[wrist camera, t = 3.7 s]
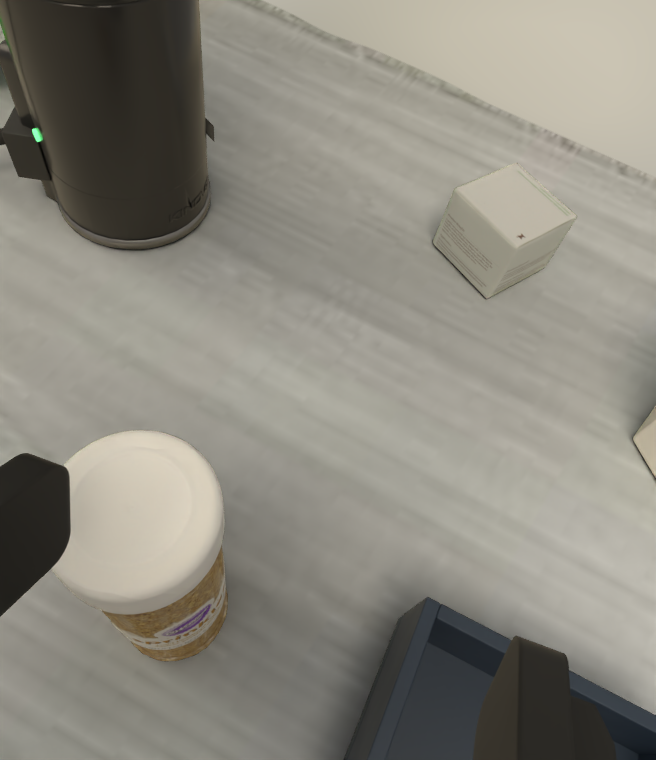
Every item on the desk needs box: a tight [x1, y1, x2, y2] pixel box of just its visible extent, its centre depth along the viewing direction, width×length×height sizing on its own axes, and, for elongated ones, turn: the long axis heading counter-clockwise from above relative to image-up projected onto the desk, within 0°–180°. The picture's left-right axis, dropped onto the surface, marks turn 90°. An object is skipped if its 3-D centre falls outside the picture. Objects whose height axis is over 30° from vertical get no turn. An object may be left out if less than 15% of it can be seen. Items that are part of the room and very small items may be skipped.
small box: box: [433, 163, 577, 299], centre depth 38 cm, size 6×6×5 cm
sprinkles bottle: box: [51, 430, 228, 661], centre depth 21 cm, size 5×5×14 cm
